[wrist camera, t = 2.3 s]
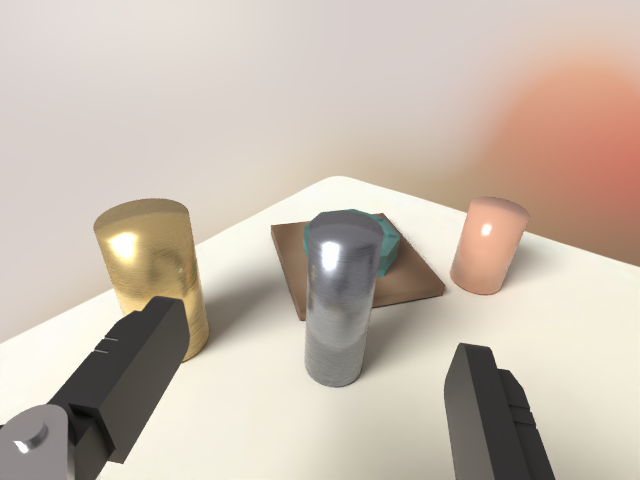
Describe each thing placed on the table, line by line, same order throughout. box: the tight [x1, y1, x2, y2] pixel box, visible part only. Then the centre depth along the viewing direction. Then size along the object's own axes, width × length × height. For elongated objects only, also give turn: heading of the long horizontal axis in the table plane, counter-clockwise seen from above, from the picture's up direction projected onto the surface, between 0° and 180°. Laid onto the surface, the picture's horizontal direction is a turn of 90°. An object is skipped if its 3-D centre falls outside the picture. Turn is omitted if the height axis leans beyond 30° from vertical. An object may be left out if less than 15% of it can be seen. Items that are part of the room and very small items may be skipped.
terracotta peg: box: [450, 197, 530, 295], centre depth 36 cm, size 5×5×8 cm
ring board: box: [271, 209, 445, 320], centre depth 38 cm, size 14×14×4 cm
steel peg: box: [305, 211, 384, 387], centre depth 25 cm, size 4×4×12 cm
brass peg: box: [94, 199, 209, 362], centre depth 27 cm, size 6×6×11 cm
